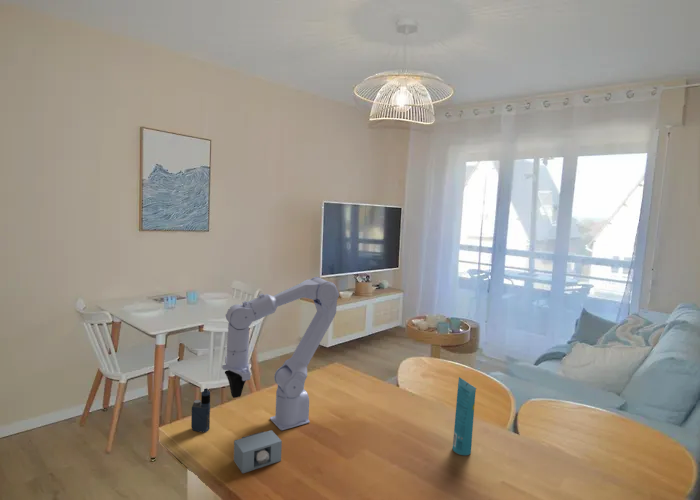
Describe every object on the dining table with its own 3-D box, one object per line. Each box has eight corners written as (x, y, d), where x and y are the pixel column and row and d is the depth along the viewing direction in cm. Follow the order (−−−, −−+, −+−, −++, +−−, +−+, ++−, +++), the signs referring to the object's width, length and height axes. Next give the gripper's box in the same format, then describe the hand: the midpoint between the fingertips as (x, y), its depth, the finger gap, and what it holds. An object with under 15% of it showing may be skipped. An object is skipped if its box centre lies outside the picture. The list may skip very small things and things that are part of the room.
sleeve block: (281, 460, 103) (281, 441, 103) (242, 473, 98) (243, 452, 97) (270, 447, 109) (270, 429, 108) (233, 459, 103) (233, 439, 102)
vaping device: (206, 433, 114) (207, 391, 113) (189, 430, 115) (190, 389, 114) (211, 428, 117) (212, 387, 115) (194, 426, 118) (195, 385, 116)
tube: (477, 456, 110) (483, 386, 108) (463, 460, 108) (469, 389, 106) (459, 441, 116) (464, 376, 115) (445, 445, 114) (450, 378, 112)
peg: (270, 462, 101) (270, 448, 101) (256, 467, 99) (256, 453, 99) (258, 448, 107) (259, 435, 106) (245, 452, 105) (245, 439, 104)
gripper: (215, 343, 117) (213, 389, 118) (232, 359, 105) (230, 410, 106) (239, 339, 121) (237, 384, 122) (258, 355, 109) (256, 404, 110)
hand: (236, 396), depth 114 cm, fingers closed
